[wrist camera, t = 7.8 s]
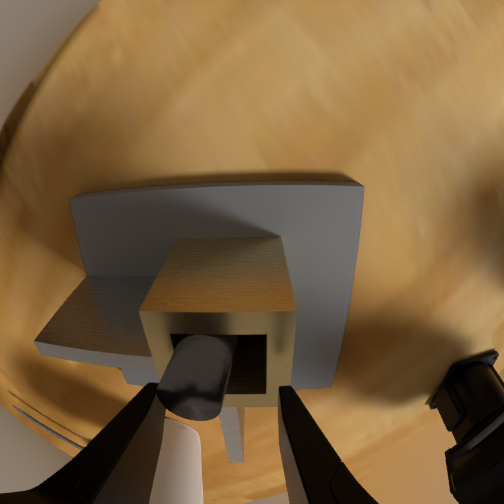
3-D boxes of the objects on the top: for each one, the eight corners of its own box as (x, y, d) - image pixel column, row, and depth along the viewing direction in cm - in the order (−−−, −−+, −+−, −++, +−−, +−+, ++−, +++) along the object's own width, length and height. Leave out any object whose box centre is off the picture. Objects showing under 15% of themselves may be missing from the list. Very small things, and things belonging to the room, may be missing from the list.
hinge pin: (248, 260, 15) (213, 379, 7) (253, 295, 15) (227, 422, 8) (208, 263, 15) (147, 375, 8) (215, 297, 16) (168, 417, 8)
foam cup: (191, 404, 22) (169, 550, 10) (230, 451, 25) (224, 562, 14) (104, 407, 23) (65, 521, 11) (151, 453, 27) (132, 548, 15)
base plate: (357, 182, 14) (364, 186, 13) (329, 376, 20) (331, 386, 19) (78, 194, 14) (69, 199, 13) (131, 374, 20) (127, 383, 19)
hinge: (280, 236, 14) (296, 311, 9) (276, 386, 19) (281, 461, 14) (78, 242, 15) (15, 301, 9) (125, 379, 19) (101, 444, 14)
